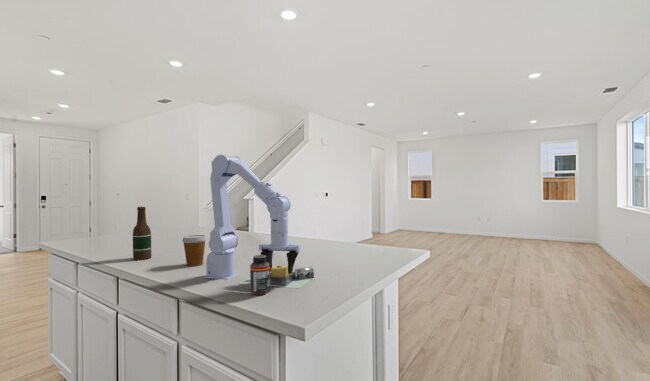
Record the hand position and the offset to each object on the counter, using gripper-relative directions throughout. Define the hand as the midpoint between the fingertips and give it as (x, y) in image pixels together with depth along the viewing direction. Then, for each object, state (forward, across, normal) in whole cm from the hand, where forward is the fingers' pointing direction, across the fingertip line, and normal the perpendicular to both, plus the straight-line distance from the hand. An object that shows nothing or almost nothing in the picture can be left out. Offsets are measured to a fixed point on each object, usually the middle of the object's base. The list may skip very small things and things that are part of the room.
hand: (279, 272), depth 111 cm
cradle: (+4, 0, 0) cm, 4 cm away
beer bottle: (+4, -78, +19) cm, 80 cm away
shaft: (+4, +6, +6) cm, 10 cm away
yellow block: (+3, 0, 0) cm, 3 cm away
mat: (+4, -2, +3) cm, 5 cm away
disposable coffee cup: (+4, -46, +15) cm, 49 cm away
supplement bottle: (+4, -2, -11) cm, 11 cm away
